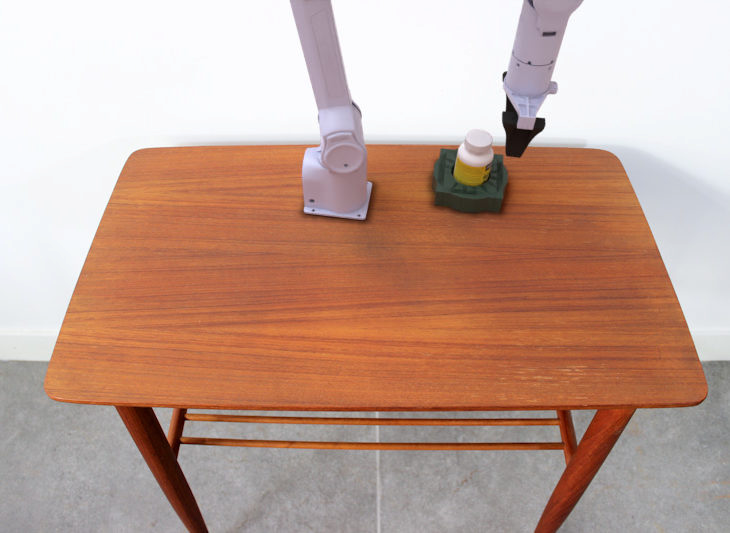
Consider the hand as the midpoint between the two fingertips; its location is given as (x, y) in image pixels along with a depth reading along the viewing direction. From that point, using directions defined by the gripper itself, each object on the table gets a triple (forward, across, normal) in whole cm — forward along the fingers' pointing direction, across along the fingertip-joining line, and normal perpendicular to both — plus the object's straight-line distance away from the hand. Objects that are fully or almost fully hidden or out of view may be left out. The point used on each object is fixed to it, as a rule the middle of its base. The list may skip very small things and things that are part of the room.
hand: (513, 137), depth 87 cm
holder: (+10, 0, +5) cm, 12 cm away
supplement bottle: (+11, 0, +5) cm, 12 cm away
